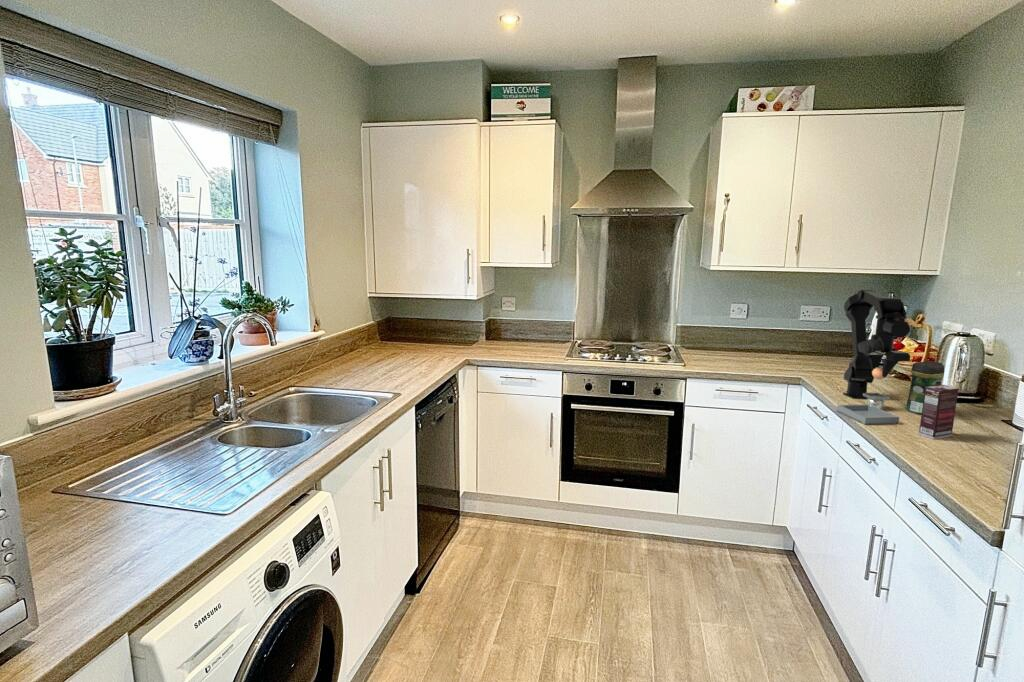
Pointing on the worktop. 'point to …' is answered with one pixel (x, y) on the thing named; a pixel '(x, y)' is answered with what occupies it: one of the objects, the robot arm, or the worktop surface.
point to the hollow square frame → (876, 399)
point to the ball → (877, 373)
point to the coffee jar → (923, 383)
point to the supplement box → (938, 411)
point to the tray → (867, 414)
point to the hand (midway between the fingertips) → (879, 375)
